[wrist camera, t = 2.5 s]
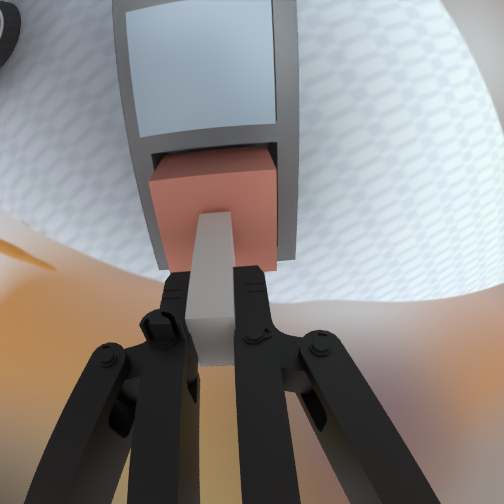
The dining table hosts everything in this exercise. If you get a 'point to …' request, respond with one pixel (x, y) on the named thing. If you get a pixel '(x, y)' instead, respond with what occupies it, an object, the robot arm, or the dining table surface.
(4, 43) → the coffee cup
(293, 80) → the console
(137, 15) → the key blue
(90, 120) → the dining table surface
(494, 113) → the dining table surface
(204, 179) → the key brick
